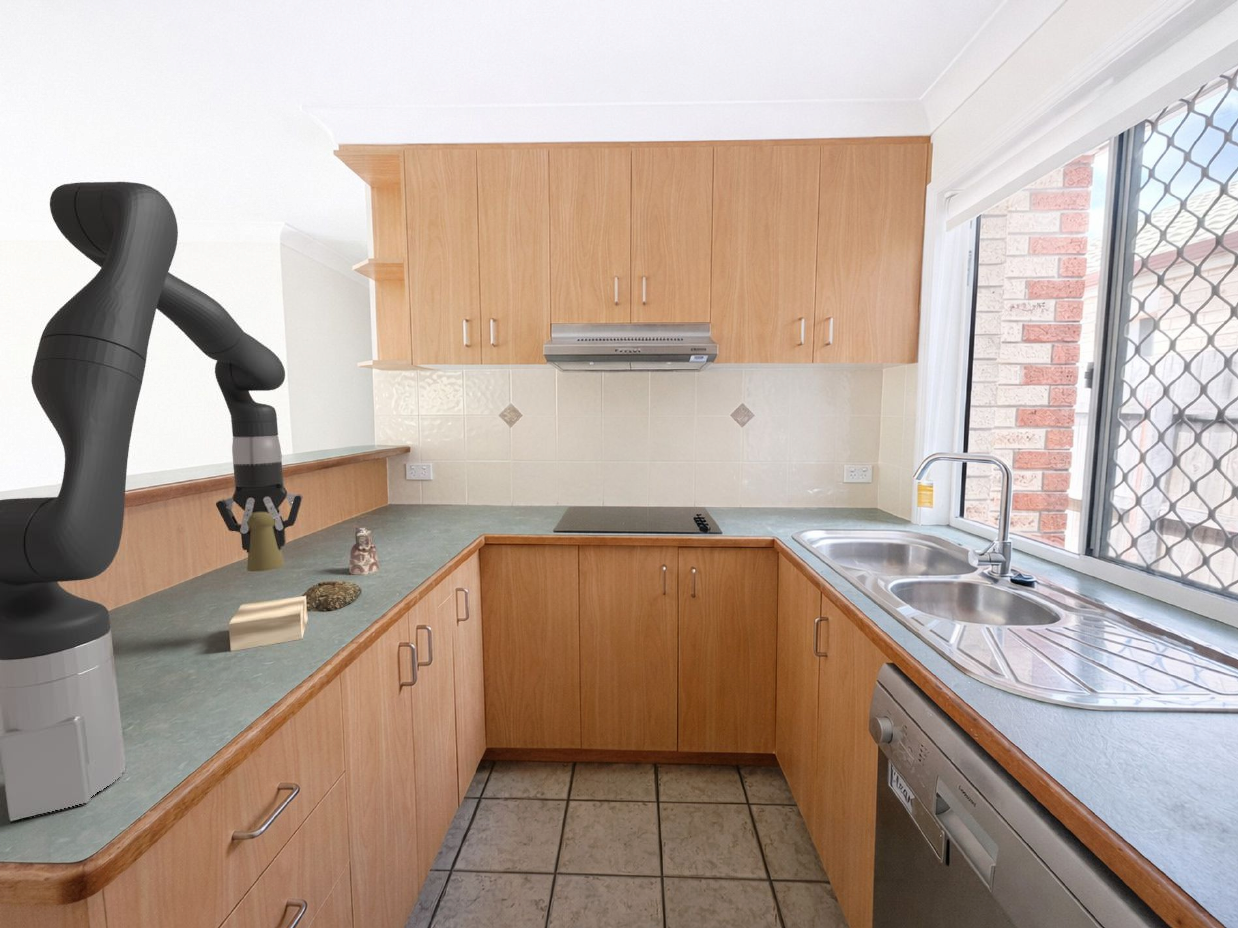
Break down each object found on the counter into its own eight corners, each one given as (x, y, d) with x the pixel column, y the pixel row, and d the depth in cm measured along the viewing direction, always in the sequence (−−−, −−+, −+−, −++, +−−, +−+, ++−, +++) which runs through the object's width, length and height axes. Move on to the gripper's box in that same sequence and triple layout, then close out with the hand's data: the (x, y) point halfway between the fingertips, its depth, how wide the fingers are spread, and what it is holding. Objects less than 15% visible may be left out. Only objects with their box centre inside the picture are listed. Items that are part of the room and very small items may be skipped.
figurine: (353, 576, 138) (350, 531, 137) (346, 570, 143) (343, 527, 142) (382, 571, 143) (379, 527, 142) (374, 565, 148) (371, 523, 147)
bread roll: (369, 593, 126) (368, 572, 125) (341, 612, 113) (339, 590, 113) (316, 593, 126) (314, 573, 126) (282, 613, 114) (280, 590, 113)
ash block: (302, 639, 99) (300, 613, 99) (230, 651, 95) (228, 624, 94) (307, 618, 109) (306, 595, 109) (243, 628, 105) (241, 604, 104)
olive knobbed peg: (266, 572, 97) (261, 513, 96) (238, 570, 98) (233, 512, 97) (292, 562, 103) (288, 507, 102) (266, 561, 104) (261, 506, 103)
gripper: (205, 464, 92) (213, 560, 94) (299, 460, 98) (306, 550, 100) (216, 461, 99) (223, 550, 101) (303, 457, 105) (310, 541, 107)
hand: (264, 549), depth 100 cm, fingers closed on olive knobbed peg, 4 cm apart
